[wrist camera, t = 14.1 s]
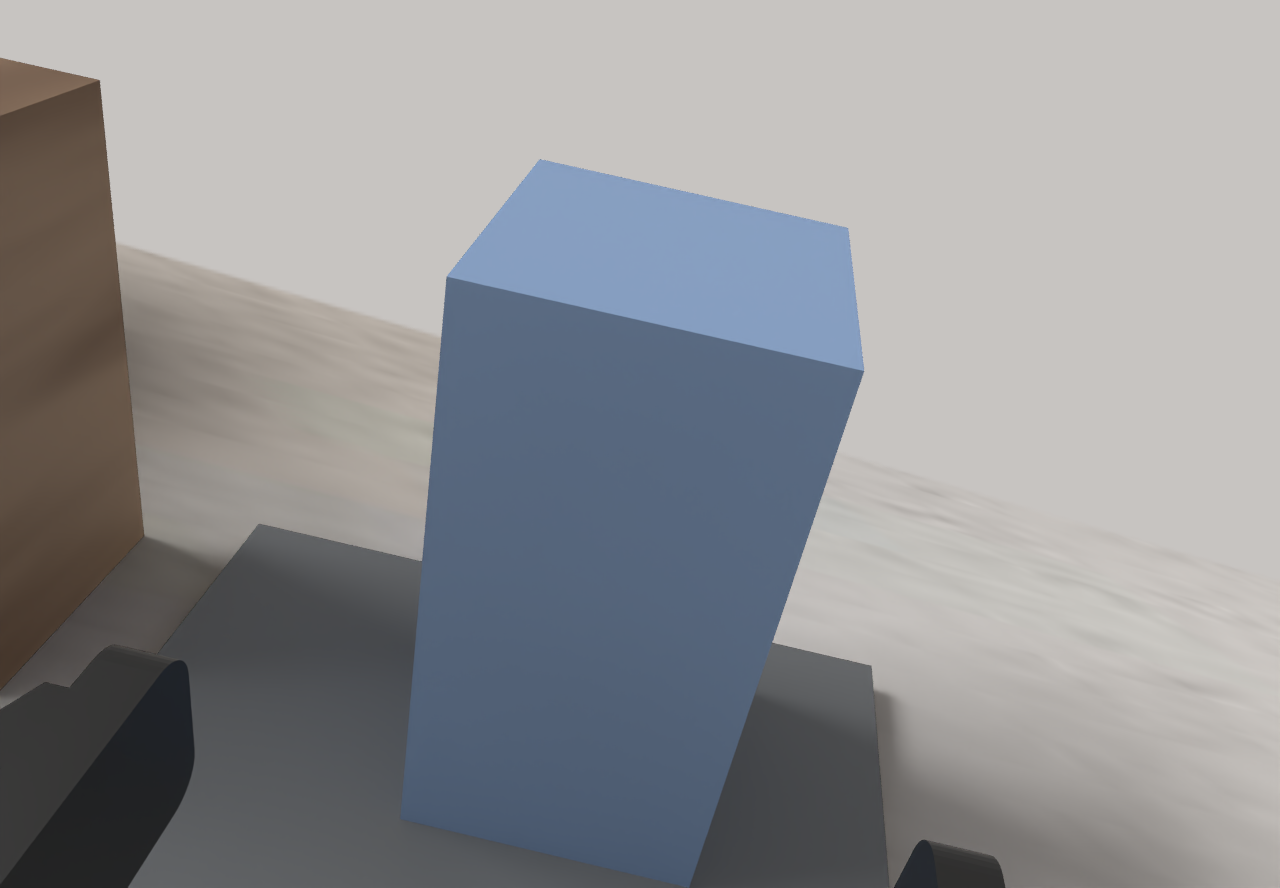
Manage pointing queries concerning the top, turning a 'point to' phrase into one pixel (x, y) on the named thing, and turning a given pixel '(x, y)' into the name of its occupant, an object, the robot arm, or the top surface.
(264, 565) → the letter mat
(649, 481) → the blue block
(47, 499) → the walnut block
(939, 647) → the top surface
